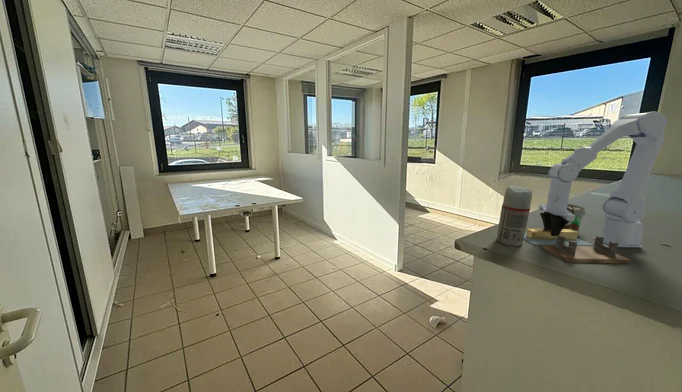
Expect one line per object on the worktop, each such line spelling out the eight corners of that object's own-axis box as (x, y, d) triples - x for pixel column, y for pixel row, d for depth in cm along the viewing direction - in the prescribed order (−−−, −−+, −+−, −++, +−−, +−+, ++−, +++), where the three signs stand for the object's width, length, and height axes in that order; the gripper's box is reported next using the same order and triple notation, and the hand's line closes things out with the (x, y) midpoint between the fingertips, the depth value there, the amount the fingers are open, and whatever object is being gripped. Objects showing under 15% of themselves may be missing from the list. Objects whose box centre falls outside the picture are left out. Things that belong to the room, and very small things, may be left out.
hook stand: (598, 249, 89) (601, 233, 87) (629, 263, 79) (633, 245, 78) (543, 248, 89) (545, 232, 88) (567, 262, 79) (570, 244, 78)
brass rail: (569, 237, 99) (571, 229, 98) (576, 240, 96) (578, 232, 95) (525, 236, 99) (527, 228, 99) (531, 239, 96) (532, 231, 96)
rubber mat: (565, 233, 103) (565, 232, 103) (593, 246, 92) (593, 245, 91) (512, 233, 104) (513, 232, 104) (533, 245, 92) (534, 243, 92)
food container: (589, 236, 101) (595, 211, 98) (570, 235, 102) (576, 210, 100) (569, 226, 112) (573, 203, 110) (552, 225, 114) (557, 202, 111)
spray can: (526, 242, 94) (535, 186, 90) (521, 249, 88) (531, 189, 84) (499, 236, 100) (506, 183, 96) (493, 242, 94) (500, 186, 90)
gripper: (532, 193, 102) (527, 227, 104) (562, 202, 87) (555, 241, 90) (551, 193, 101) (545, 227, 104) (584, 202, 87) (576, 241, 90)
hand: (551, 234), depth 97 cm, fingers closed on brass rail, 3 cm apart
